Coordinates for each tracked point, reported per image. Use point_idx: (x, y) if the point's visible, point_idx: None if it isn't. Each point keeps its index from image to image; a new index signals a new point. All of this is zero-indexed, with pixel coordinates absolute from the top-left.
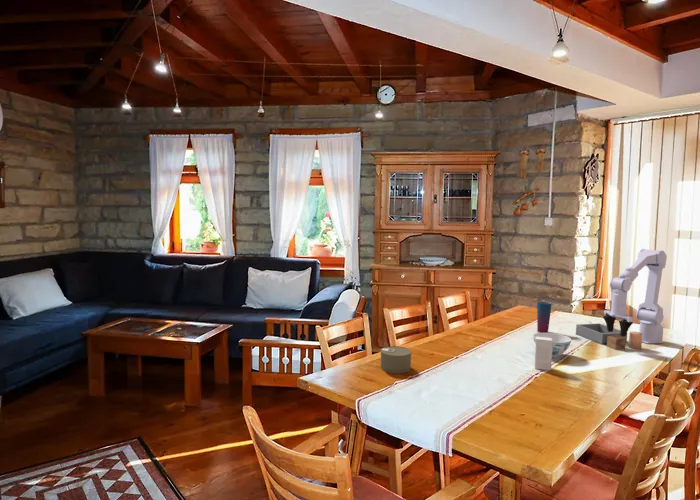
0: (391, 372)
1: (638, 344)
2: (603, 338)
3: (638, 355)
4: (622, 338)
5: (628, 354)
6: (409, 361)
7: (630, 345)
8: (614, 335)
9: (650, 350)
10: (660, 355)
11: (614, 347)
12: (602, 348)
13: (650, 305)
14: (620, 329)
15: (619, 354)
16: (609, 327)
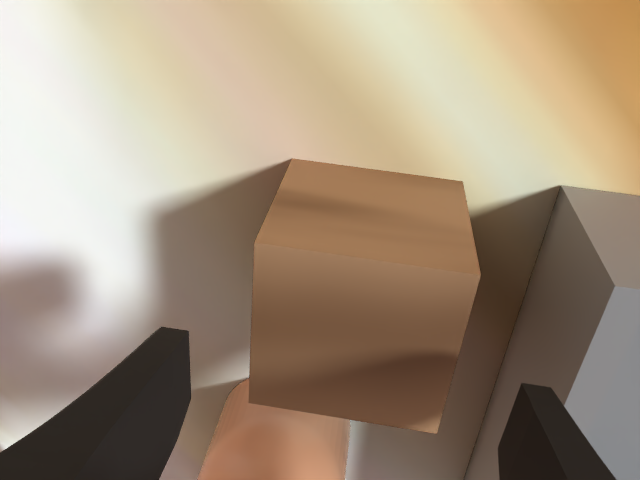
0: None
1: (208, 452)
2: (579, 257)
3: (24, 227)
4: (257, 365)
5: (67, 143)
6: None
7: None
8: None
9: (181, 472)
10: (24, 419)
11: (305, 173)
12: (404, 9)
13: None
14: (118, 421)
15: (73, 9)
16: (541, 474)
